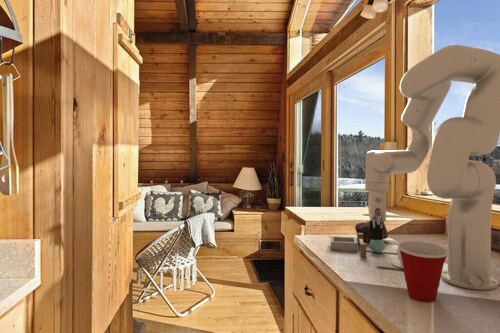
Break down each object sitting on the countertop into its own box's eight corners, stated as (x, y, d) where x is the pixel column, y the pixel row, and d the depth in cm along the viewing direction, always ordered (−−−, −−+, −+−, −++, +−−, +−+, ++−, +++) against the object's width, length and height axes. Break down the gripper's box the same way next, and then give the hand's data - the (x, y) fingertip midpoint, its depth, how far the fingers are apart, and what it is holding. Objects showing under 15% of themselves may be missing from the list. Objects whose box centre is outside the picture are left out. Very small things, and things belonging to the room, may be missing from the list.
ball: (385, 254, 119) (385, 240, 119) (370, 253, 120) (370, 239, 120) (384, 251, 123) (384, 236, 123) (368, 250, 125) (368, 236, 125)
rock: (358, 241, 144) (357, 246, 134) (354, 220, 144) (353, 223, 135) (388, 238, 140) (390, 243, 131) (385, 216, 141) (386, 220, 131)
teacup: (432, 272, 101) (433, 255, 101) (396, 270, 103) (396, 254, 103) (422, 262, 111) (422, 247, 111) (388, 260, 113) (388, 246, 113)
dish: (357, 251, 123) (357, 243, 123) (330, 250, 125) (330, 241, 125) (356, 245, 131) (356, 237, 131) (331, 244, 134) (331, 236, 134)
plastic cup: (412, 308, 77) (413, 253, 76) (388, 289, 87) (389, 241, 87) (460, 306, 77) (460, 251, 77) (431, 288, 88) (431, 240, 88)
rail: (366, 257, 115) (366, 244, 115) (360, 257, 116) (360, 244, 115) (362, 245, 132) (362, 233, 132) (357, 244, 133) (357, 233, 132)
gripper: (392, 190, 112) (390, 243, 113) (385, 184, 129) (383, 231, 130) (367, 189, 114) (365, 242, 115) (363, 184, 131) (362, 230, 132)
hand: (375, 236), depth 122 cm, fingers open, 9 cm apart
